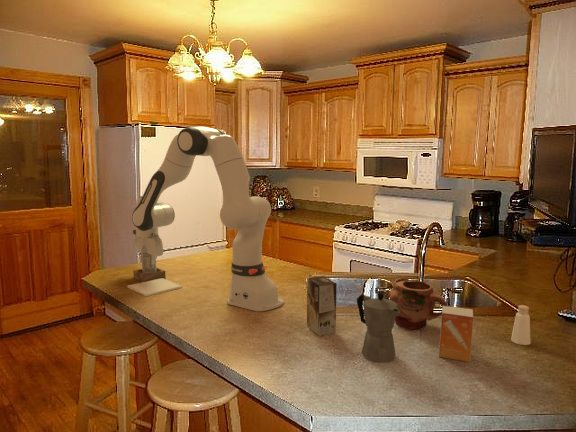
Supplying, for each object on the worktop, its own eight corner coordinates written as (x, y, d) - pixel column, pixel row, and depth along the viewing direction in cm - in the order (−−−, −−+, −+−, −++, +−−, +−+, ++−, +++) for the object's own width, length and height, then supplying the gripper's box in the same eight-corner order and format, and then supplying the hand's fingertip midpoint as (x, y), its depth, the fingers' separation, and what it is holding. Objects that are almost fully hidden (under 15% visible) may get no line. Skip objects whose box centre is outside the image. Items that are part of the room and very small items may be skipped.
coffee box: (336, 333, 136) (337, 283, 134) (318, 336, 134) (319, 285, 132) (323, 322, 145) (323, 275, 142) (305, 325, 142) (306, 277, 140)
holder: (165, 278, 194) (165, 270, 193) (144, 283, 187) (144, 275, 186) (154, 273, 201) (154, 266, 200) (133, 278, 194) (133, 270, 194)
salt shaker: (507, 337, 134) (510, 303, 132) (525, 337, 134) (528, 303, 132) (515, 345, 128) (518, 309, 127) (534, 345, 128) (537, 309, 127)
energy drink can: (157, 276, 197) (156, 243, 195) (155, 279, 192) (154, 246, 189) (143, 276, 196) (142, 244, 194) (141, 280, 191) (140, 247, 188)
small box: (438, 357, 120) (441, 312, 119) (439, 348, 126) (442, 305, 124) (470, 362, 118) (473, 316, 116) (470, 352, 123) (473, 308, 121)
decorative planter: (452, 327, 141) (455, 286, 139) (440, 340, 131) (442, 296, 129) (394, 313, 153) (396, 275, 151) (379, 324, 143) (380, 283, 141)
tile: (182, 287, 181) (182, 286, 181) (146, 296, 170) (145, 294, 169) (162, 279, 192) (162, 278, 192) (127, 287, 181) (127, 285, 181)
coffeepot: (408, 359, 119) (411, 296, 116) (384, 369, 114) (387, 303, 111) (367, 339, 132) (369, 282, 129) (344, 347, 126) (345, 287, 124)
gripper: (166, 234, 186) (167, 265, 188) (143, 228, 200) (144, 257, 202) (152, 236, 181) (153, 268, 183) (130, 229, 196) (131, 259, 198)
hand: (149, 262), depth 193 cm, fingers closed on energy drink can, 6 cm apart
